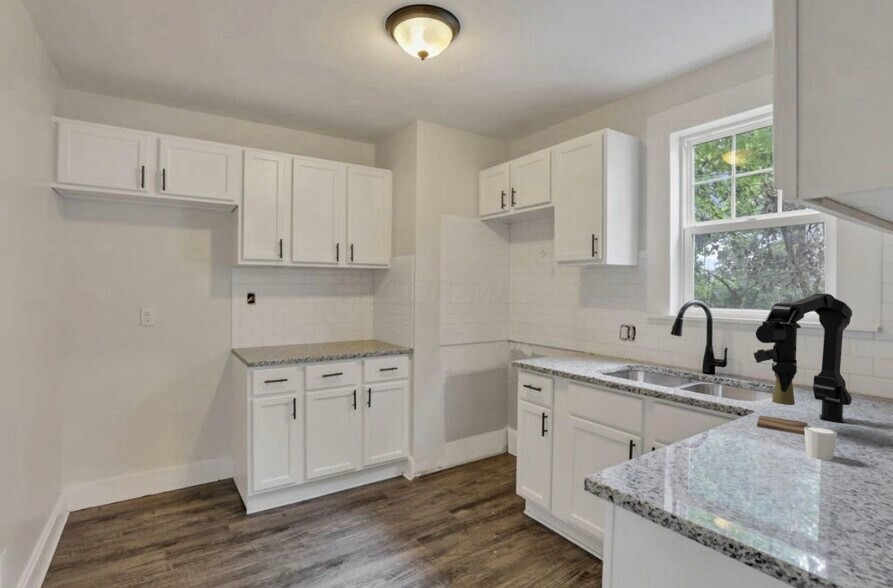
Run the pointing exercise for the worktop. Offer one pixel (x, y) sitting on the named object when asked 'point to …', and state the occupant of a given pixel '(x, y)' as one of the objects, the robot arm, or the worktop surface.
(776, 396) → the cork
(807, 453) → the white faceted cup
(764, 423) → the walnut coaster board
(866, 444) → the worktop surface
